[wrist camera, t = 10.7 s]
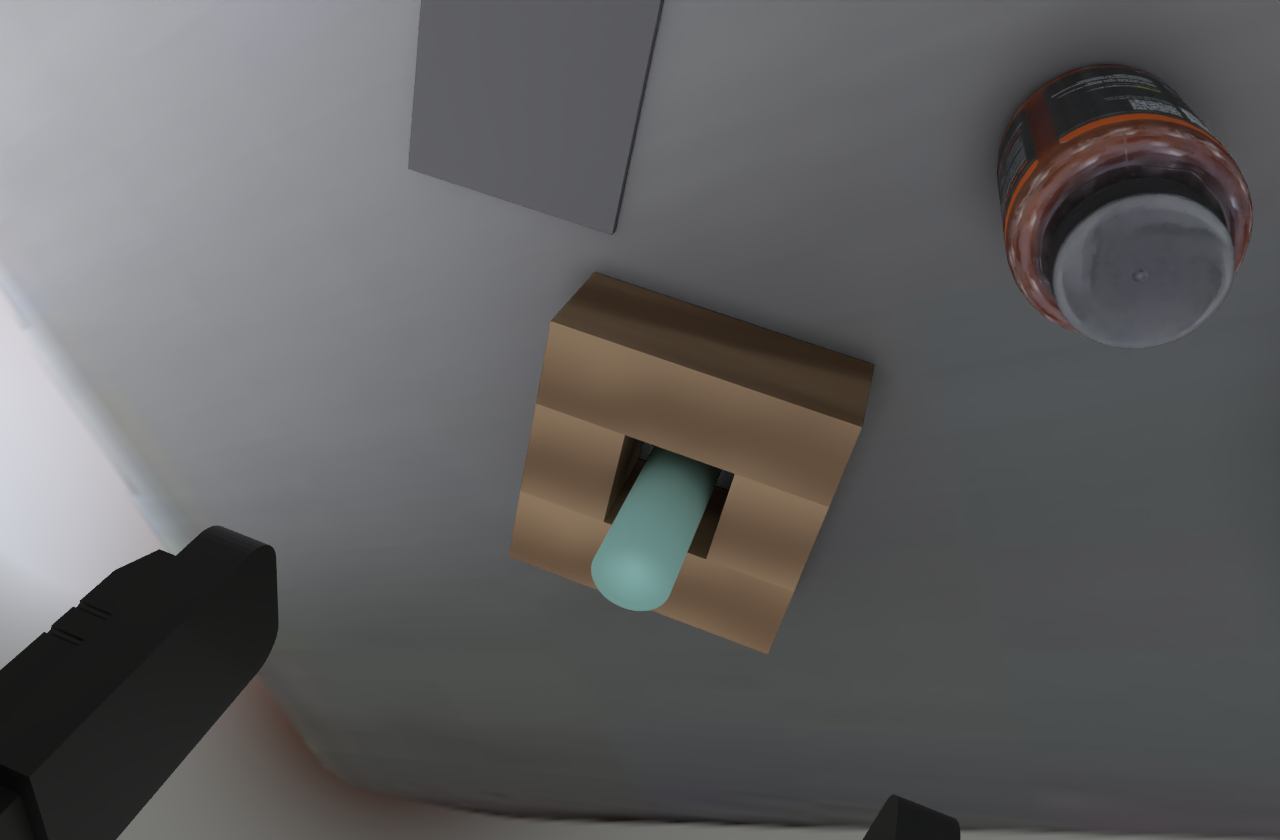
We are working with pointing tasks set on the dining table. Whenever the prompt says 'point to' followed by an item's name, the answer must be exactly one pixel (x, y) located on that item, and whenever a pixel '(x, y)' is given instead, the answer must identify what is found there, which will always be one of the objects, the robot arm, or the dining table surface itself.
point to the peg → (653, 531)
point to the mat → (533, 100)
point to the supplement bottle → (1120, 208)
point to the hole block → (688, 446)
